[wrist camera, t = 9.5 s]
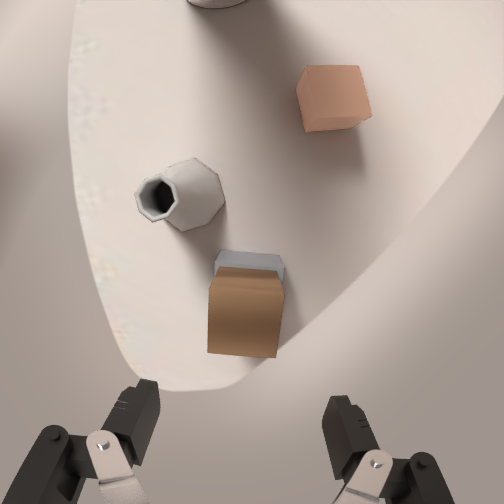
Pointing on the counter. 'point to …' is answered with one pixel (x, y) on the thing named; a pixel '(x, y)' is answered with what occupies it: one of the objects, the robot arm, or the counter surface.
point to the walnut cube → (245, 312)
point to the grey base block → (249, 261)
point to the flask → (181, 195)
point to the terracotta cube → (332, 97)
